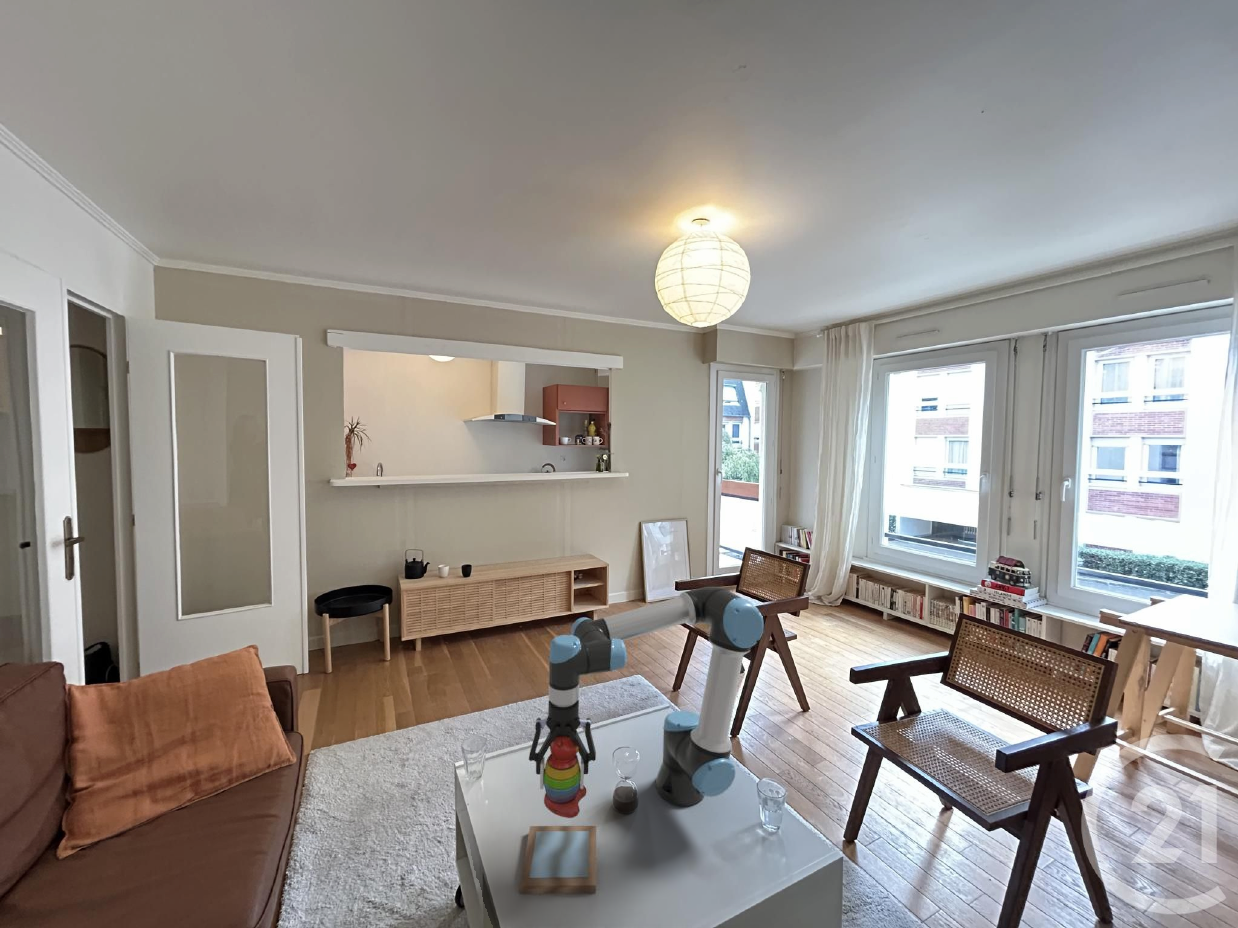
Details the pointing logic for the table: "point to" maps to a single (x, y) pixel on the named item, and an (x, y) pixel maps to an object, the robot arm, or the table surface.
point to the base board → (560, 860)
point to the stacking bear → (563, 778)
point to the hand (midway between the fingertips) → (562, 784)
